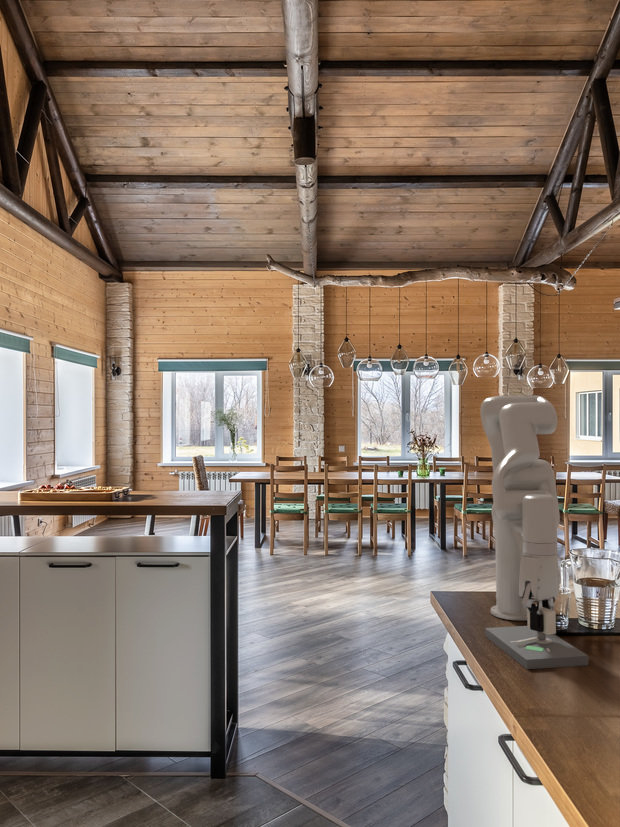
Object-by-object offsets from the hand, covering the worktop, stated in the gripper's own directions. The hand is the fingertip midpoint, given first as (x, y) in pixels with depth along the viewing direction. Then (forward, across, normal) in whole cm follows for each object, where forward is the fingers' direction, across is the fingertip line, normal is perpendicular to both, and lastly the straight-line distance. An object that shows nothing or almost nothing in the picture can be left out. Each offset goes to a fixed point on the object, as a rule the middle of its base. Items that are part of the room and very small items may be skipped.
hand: (541, 628), depth 153 cm
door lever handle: (+2, +3, -1) cm, 4 cm away
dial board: (+5, +2, -1) cm, 5 cm away
